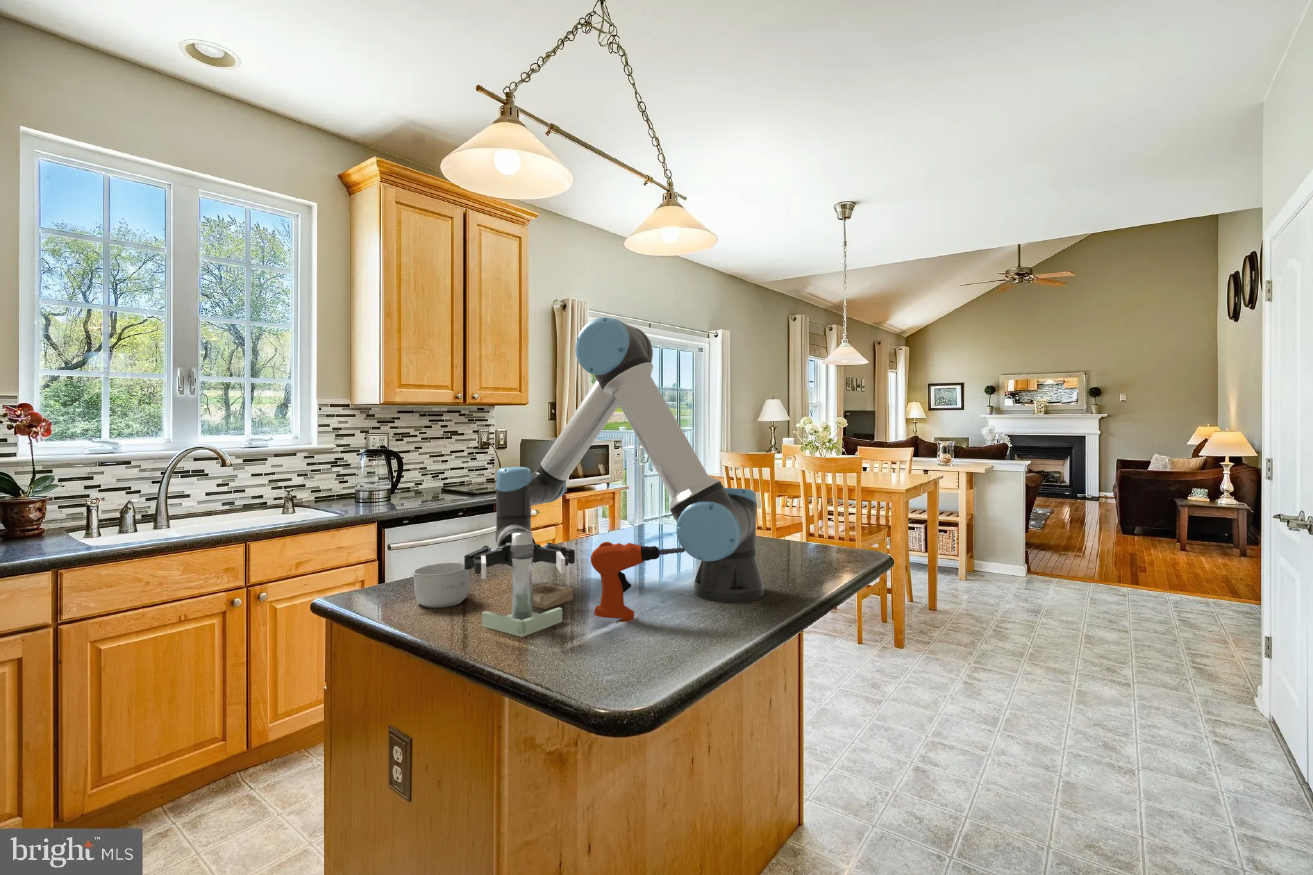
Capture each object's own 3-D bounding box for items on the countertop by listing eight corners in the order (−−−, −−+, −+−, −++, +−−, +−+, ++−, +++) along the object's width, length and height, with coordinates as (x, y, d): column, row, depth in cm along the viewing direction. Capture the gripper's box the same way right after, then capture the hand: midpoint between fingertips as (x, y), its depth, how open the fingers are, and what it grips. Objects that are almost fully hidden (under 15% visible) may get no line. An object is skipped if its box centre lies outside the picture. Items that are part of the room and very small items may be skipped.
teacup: (446, 616, 119) (446, 574, 118) (400, 610, 122) (400, 570, 122) (488, 597, 132) (488, 560, 132) (446, 592, 135) (446, 556, 135)
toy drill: (691, 617, 114) (681, 536, 114) (592, 625, 116) (582, 546, 116) (693, 609, 118) (684, 531, 118) (598, 617, 121) (588, 541, 121)
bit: (538, 620, 113) (538, 532, 112) (522, 626, 109) (521, 536, 109) (522, 616, 115) (522, 530, 114) (506, 622, 111) (506, 533, 111)
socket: (572, 602, 128) (573, 588, 128) (545, 612, 121) (545, 597, 121) (544, 596, 132) (544, 582, 132) (516, 605, 126) (516, 591, 126)
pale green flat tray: (562, 625, 113) (562, 608, 113) (522, 641, 105) (521, 622, 105) (523, 616, 119) (523, 599, 119) (482, 630, 111) (482, 612, 111)
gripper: (576, 560, 133) (594, 585, 112) (453, 567, 126) (449, 595, 105) (576, 525, 132) (594, 543, 112) (453, 530, 125) (448, 551, 105)
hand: (524, 568), depth 109 cm, fingers open, 13 cm apart
